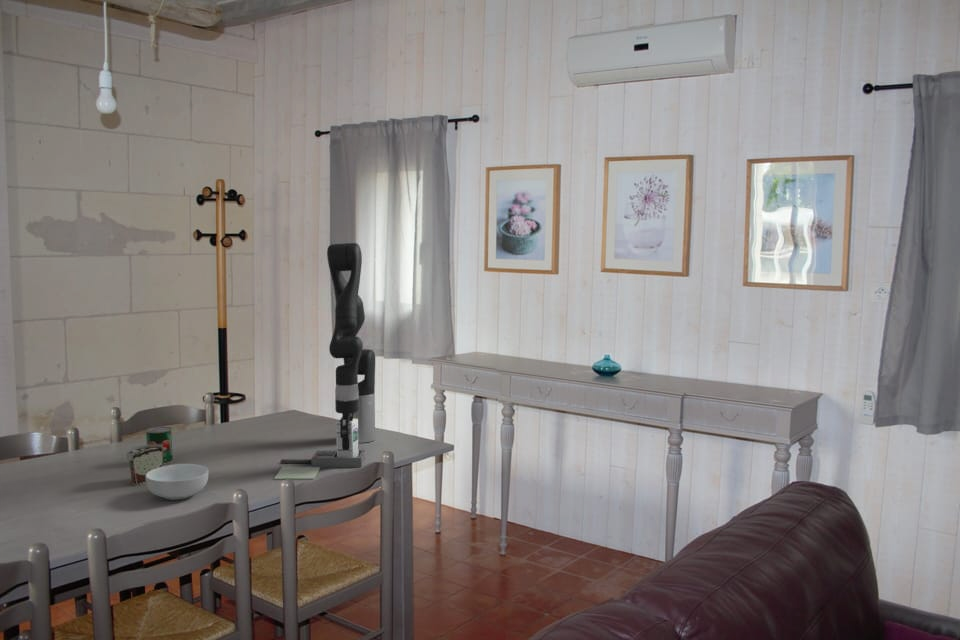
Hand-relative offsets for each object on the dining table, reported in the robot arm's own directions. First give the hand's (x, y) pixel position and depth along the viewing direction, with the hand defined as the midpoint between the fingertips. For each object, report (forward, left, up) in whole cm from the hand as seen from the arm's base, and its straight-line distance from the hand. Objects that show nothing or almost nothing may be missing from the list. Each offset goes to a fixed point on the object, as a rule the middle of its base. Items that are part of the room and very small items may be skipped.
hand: (347, 446), depth 269 cm
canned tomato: (-2, -62, -6) cm, 62 cm away
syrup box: (0, 0, -6) cm, 6 cm away
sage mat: (+12, -14, -6) cm, 19 cm away
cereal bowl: (+33, -44, -6) cm, 55 cm away
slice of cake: (+18, -60, -6) cm, 63 cm away
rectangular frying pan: (0, -9, -6) cm, 10 cm away
